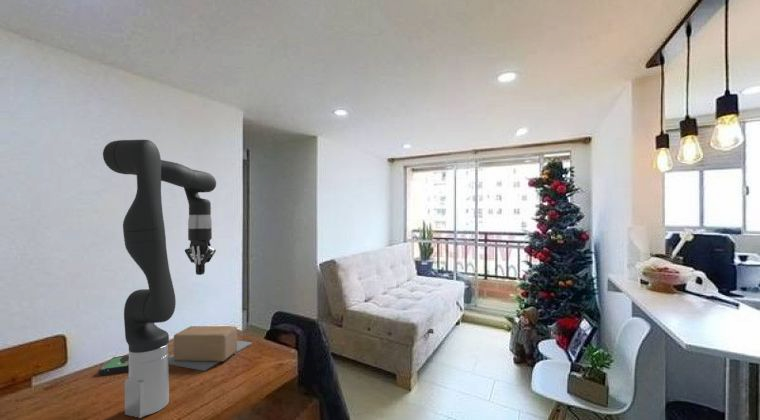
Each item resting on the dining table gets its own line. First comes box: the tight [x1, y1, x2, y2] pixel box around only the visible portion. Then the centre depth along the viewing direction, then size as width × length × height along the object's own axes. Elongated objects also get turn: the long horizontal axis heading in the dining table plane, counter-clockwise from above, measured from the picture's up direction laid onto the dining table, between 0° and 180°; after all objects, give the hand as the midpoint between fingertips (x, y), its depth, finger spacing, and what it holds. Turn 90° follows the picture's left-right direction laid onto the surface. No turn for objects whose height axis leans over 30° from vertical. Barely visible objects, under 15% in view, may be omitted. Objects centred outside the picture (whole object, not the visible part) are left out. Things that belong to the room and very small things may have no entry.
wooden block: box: [173, 325, 238, 362], centre depth 120 cm, size 10×10×20 cm
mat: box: [169, 340, 253, 372], centre depth 125 cm, size 24×22×1 cm
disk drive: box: [97, 354, 129, 377], centre depth 114 cm, size 10×3×15 cm
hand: (200, 274), depth 115 cm, fingers closed
